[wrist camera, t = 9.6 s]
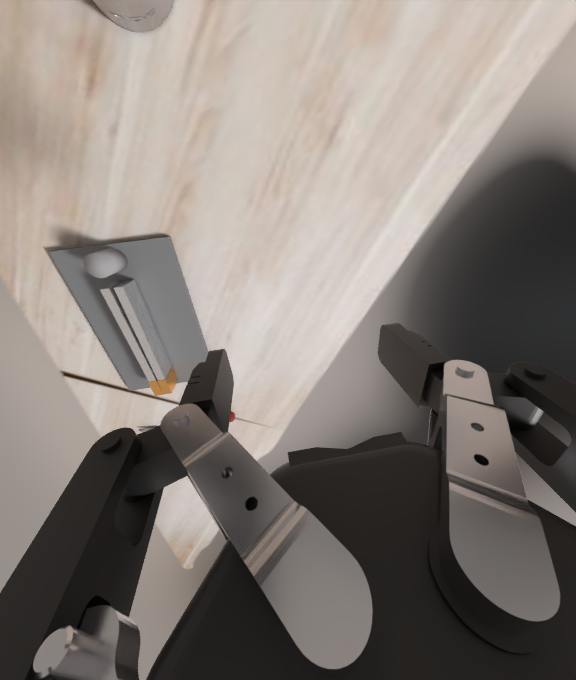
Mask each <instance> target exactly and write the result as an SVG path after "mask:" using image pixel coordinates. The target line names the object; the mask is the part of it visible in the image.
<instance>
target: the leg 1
mask: <svg viewBox="0 0 576 680" xmlns="http://www.w3.org/2000/svg"><path fill="white" fill-rule="evenodd" d="M121 283H123V281H120V282H114V283H112V284H110V285H108V286H106V287H104V288H102V289H100V291H101V293H102V295H103V297H104V298H105V300H106V302H107V304H108V306H109V308H110V310H111V312H112V313H113V315H114V317H115V319H116V321H117V323H118V325H119V327H120V329H121V330H122V332H123V334H124V336H125V338H126V340H127V342H128V344H129V345H130V347H131V349H132V351H133V353H134V355H135V357H136V359H137V360H138V362H139V364H140V366H141V368H142V370H143V372H144V374H145V375H146V377H147V379H148V381H149V382H148V383H149V385H150V387H151V389H152V391H153V392H154V394H155V396H157V395H163V392H162V390H161V388H160V386H159V384H158V382H157V378H156V376H155V373H154V371H153V369H152V367H151V365H150V363H149V361H148V359H147V357H146V355H145V353H144V351H143V348H142V346H141V344H140V342H139V340H138V338H137V336H136V334H135V332H134V330H133V328H132V326H131V324H130V321H129V319H128V317H127V315H126V313H125V311H124V309H123V307H122V305H121V303H120V301H119V299H118V296H117V294H116V292H115V290H114V287H116V286H118V285H119V284H121Z"/></svg>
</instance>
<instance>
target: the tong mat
mask: <svg viewBox="0 0 576 680" xmlns="http://www.w3.org/2000/svg"><path fill="white" fill-rule="evenodd" d="M48 253H49V254H50V256H51V258H52V259H53V261H54V263H55V265H56V266H57V268H58V270H59V271H60V273H61V275H62V276H63V278H64V280H65V282H66V283H67V285H68V287H69V288H70V290H71V292H72V293H73V295H74V297H75V299H76V300H77V302H78V304H79V305H80V307H81V309H82V310H83V312H84V314H85V315H86V317H87V319H88V321H89V322H90V324H91V326H92V327H93V329H94V331H95V332H96V334H97V336H98V338H99V339H100V341H101V343H102V344H103V346H104V348H105V349H106V351H107V353H108V355H109V356H110V358H111V360H112V361H113V363H114V365H115V366H116V368H117V370H118V371H119V373H120V375H121V377H122V378H123V380H124V382H125V383H126V385H127V387H128V388H129V390H137V389H143V388H149V387H150V385H149V383H148V382H149V381H148V379H147V377H146V375H145V374H144V372H143V370H142V368H141V366H140V364H139V362H138V360H137V359H136V357H135V355H134V353H133V351H132V349H131V347H130V345H129V344H128V342H127V340H126V338H125V336H124V334H123V332H122V330H121V329H120V327H119V325H118V323H117V321H116V319H115V317H114V315H113V313H112V312H111V310H110V308H109V306H108V304H107V302H106V300H105V298H104V297H103V295H102V293H101V291H100V289H102V288H104V287H106V286H108V285H110V284H112V283H114V282H120V281H123V282H125V281H127V280H135V282H136V284H137V286H138V289H139V291H140V293H141V296H142V298H143V300H144V303H145V305H146V308H147V310H148V312H149V315H150V317H151V319H152V322H153V324H154V326H155V329H156V331H157V333H158V336H159V338H160V340H161V343H162V345H163V347H164V350H165V352H166V354H167V357H168V359H169V361H170V364H171V366H173V369H174V371H175V373H176V376H177V378H178V380H177V383H181V382H187V381H189V379H190V375H191V373H192V370H193V369H194V368H195V367H196V366H197V365H198V364H199V363H201V362H205V361H206V358H207V355H208V350H207V347H206V344H205V341H204V338H203V334H202V331H201V328H200V325H199V322H198V319H197V316H196V313H195V310H194V307H193V304H192V301H191V298H190V295H189V292H188V289H187V286H186V283H185V280H184V277H183V274H182V271H181V268H180V265H179V262H178V258H177V255H176V252H175V249H174V246H173V243H172V240H171V237H170V236H169V237H161V238H153V239H144V240H136V241H128V242H120V243H112V244H104V245H96V246H88V247H80V248H72V249H64V250H56V251H50V252H48Z"/></svg>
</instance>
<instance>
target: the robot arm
mask: <svg viewBox="0 0 576 680" xmlns="http://www.w3.org/2000/svg"><path fill="white" fill-rule="evenodd" d="M173 1H174V0H93V2H94V3H95V4H96V5H97V6H98V8H99V9H100V10H101V11H102V12H103V13H104V14H105V15H106V16H107V17H108V18H109V19H111V20H112V21H113V22H115V23H116V24H118V25H119V26H121V27H123V28H125V29H128V30H131V31H133V32H147V31H151V30H154V29H155V28H157V27H158V26H160V25H161V24H162V23H163V22H164V20H165V19H166V18H167V16H168V14H169V12H170V10H171V8H172V5H173ZM378 355H379V359H380V361H381V363H382V364H383V365H384V366H385V367H386V369H387V370H388V371H389V373H390V374H391V375H392V376H393V377H394V379H395V380H396V381H397V382H398V384H399V385H400V386H401V387H402V388H403V390H404V391H405V392H406V393H407V394H408V395H409V397H410V398H411V399H412V400H413V402H414V403H415V404H416V405H417V407H418V408H419V407H425V406H430V407H431V408H432V410H431V413H430V423H429V435H428V446H427V445H424V444H419V443H415V442H409V441H406V439H405V438H404V436H403V435H402V433H401V432H399V433H393V434H388V435H382V436H377V437H373V438H371V439H369V440H367V441H364V442H362V443H360V444H358V445H356V446H354V447H352V448H349V449H335V448H334V449H333V448H318V447H316V448H310V449H305V450H299V451H293V452H288V455H289V462H288V463H286V464H284V465H282V466H280V467H279V468H277V469H276V470H275V471H274V472H272V473H271V474H270V475H269V474H268V473H267V472H266V471H265V470H264V469H263V467H262V466H261V465H260V464H259V463H258V462H257V461H256V460H255V459H254V458H253V457H252V456H251V455H250V454H249V453H248V452H247V451H246V450H245V449H244V448H243V446H242V445H241V444H240V443H239V442H238V441H237V440H236V439H235V438H234V437H233V436H232V435H231V434H230V433H229V432H228V427H229V419H230V411H231V403H232V394H233V386H234V382H233V375H232V371H231V367H230V364H229V360H228V357H227V353H226V351H225V349H221V350H214V351H209V352H208V355H207V358H206V361H205V362H201V363H199V364H198V365H197V366H196V367H195V368H194V369H193V370H192V373H191V375H190V379H189V381H188V383H187V384H188V385H187V386H186V388H185V391H184V394H183V396H182V399H181V401H180V404H179V406H178V407H176V408H174V409H172V410H171V411H169V412H168V413H167V414H166V415H165V416H164V418H163V419H162V421H161V425H160V426H158V427H155V428H153V429H150V430H148V431H145V432H143V433H141V434H138V435H136V433H135V432H134V430H133V429H131V428H120V429H117V430H114V431H112V432H110V433H108V434H106V435H104V436H103V437H102V438H100V439H99V440H98V441H97V442H96V443H95V444H94V445H93V446H92V447H91V449H90V450H89V452H88V453H87V455H86V456H85V458H84V460H83V461H82V463H81V464H80V466H79V468H78V469H77V471H76V473H75V474H74V476H73V477H72V479H71V481H70V482H69V484H68V485H67V487H66V488H65V490H64V492H63V493H62V495H61V496H60V498H59V500H58V501H57V503H56V504H55V507H54V508H53V509H52V511H51V513H50V514H49V516H48V517H47V519H46V521H45V522H44V524H43V525H42V527H41V529H40V530H39V532H38V533H37V535H36V537H35V538H34V540H33V541H32V543H31V545H30V546H29V548H28V549H27V551H26V553H25V554H24V556H23V557H22V559H21V561H20V562H19V564H18V565H17V567H16V569H15V570H14V572H13V573H12V575H11V577H10V578H9V580H8V581H7V583H6V585H5V586H4V588H3V589H2V591H1V593H0V680H139V674H138V658H139V651H140V631H139V628H138V626H137V624H136V623H135V622H134V621H133V620H132V619H131V618H129V614H130V611H131V607H132V603H133V600H134V596H135V592H136V588H137V585H138V581H139V577H140V574H141V570H142V566H143V563H144V559H145V555H146V552H147V548H148V544H149V540H150V537H151V533H152V529H153V526H154V522H155V518H156V515H157V511H158V507H159V503H160V500H161V496H162V492H163V489H164V487H165V486H167V485H169V484H171V483H173V482H175V481H177V480H179V479H182V478H184V477H186V476H188V478H189V479H190V481H191V483H192V484H193V486H194V488H195V489H196V491H197V493H198V494H199V496H200V498H201V499H202V501H203V502H204V504H205V506H206V507H207V509H208V511H209V512H210V514H211V516H212V518H213V519H214V521H215V523H216V524H217V526H218V528H219V530H220V531H221V533H222V534H223V536H224V538H225V539H226V541H227V542H226V544H225V545H224V547H223V549H222V550H221V552H220V554H219V555H218V557H217V559H216V560H215V562H214V564H213V565H212V567H211V569H210V570H209V572H208V574H207V575H206V577H205V579H204V580H203V582H202V584H201V585H200V587H199V589H198V590H197V592H196V594H195V595H194V597H193V599H192V600H191V602H190V604H189V605H188V607H187V609H186V610H185V612H184V614H183V615H182V617H181V619H180V620H179V622H178V623H177V625H176V627H175V629H174V630H173V632H172V634H171V635H170V637H169V639H168V640H167V642H166V643H165V645H164V647H163V648H162V650H161V652H160V654H159V655H158V657H157V659H156V661H155V663H154V665H153V666H152V668H151V670H150V673H149V675H148V677H147V679H146V680H576V526H574V525H572V524H570V523H569V522H567V521H565V520H563V519H561V518H560V517H558V516H556V515H554V514H552V513H551V512H549V511H547V510H545V509H543V508H542V507H540V506H538V505H536V504H535V503H533V502H531V501H529V500H527V498H526V494H525V489H524V486H523V482H522V478H521V473H520V469H519V465H518V461H517V457H516V453H517V454H518V455H519V456H520V457H521V458H522V459H523V460H524V461H525V462H526V463H527V464H528V465H529V466H530V467H531V468H532V469H533V470H534V471H535V472H536V473H537V474H538V475H539V476H540V477H541V478H542V479H543V480H544V481H545V482H546V483H547V484H548V485H549V486H550V487H551V488H552V489H553V490H554V491H555V492H556V493H557V494H558V495H559V496H560V497H561V498H562V499H563V500H564V501H565V502H566V503H567V504H568V505H569V506H570V507H571V508H572V509H573V510H574V511H575V512H576V385H575V384H574V383H572V382H571V381H569V380H567V379H565V378H564V377H562V376H560V375H559V374H557V373H555V372H553V371H552V370H550V369H547V368H545V367H542V366H539V365H535V364H531V363H514V364H512V365H510V367H509V369H508V371H507V373H506V374H504V373H487V372H486V371H485V370H484V369H483V368H482V367H480V366H479V365H476V364H474V363H471V362H468V361H463V360H452V359H451V358H449V357H448V356H446V355H445V354H444V353H443V352H441V351H440V350H439V349H438V348H436V347H435V346H433V345H432V344H431V343H429V342H428V341H427V340H426V339H424V338H423V337H421V336H420V335H419V334H416V333H414V332H412V331H408V330H406V329H405V328H404V327H403V326H402V325H400V324H399V323H393V324H387V325H382V326H381V329H380V339H379V347H378ZM543 412H545V413H546V414H547V415H549V416H550V417H552V418H553V419H554V420H555V421H557V422H558V423H559V424H561V425H562V426H563V427H565V428H566V429H567V431H568V432H569V433H570V435H571V439H572V442H571V444H570V446H569V447H567V446H566V445H565V444H564V443H563V442H561V441H560V440H559V439H558V438H556V437H555V436H554V435H553V434H551V433H550V432H549V431H548V430H547V429H545V428H544V427H543V426H542V425H540V424H539V423H538V420H539V418H540V417H541V415H542V413H543ZM515 452H516V453H515Z"/></svg>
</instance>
